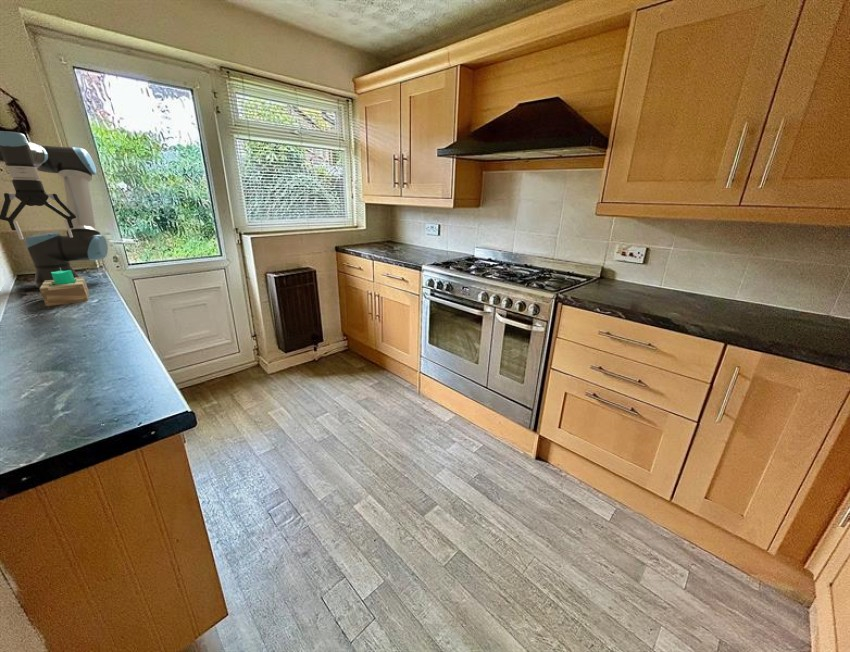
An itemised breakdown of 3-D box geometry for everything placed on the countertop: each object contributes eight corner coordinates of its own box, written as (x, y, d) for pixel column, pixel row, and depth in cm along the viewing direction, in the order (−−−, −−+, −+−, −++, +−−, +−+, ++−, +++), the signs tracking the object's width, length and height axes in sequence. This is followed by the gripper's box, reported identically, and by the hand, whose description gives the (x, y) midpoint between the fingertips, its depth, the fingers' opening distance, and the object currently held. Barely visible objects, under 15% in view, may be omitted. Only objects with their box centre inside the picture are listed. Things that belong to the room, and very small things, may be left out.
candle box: (50, 296, 147) (44, 280, 144) (89, 292, 154) (83, 276, 152) (46, 306, 135) (39, 288, 133) (87, 300, 143) (82, 284, 140)
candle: (84, 294, 147) (74, 266, 143) (70, 298, 142) (59, 269, 138) (70, 294, 148) (60, 266, 143) (55, 298, 142) (44, 269, 138)
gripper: (-30, 177, 118) (-3, 241, 126) (72, 180, 133) (90, 237, 141) (-24, 178, 123) (1, 239, 131) (73, 180, 139) (90, 235, 146)
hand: (47, 238), depth 136 cm, fingers open, 13 cm apart
